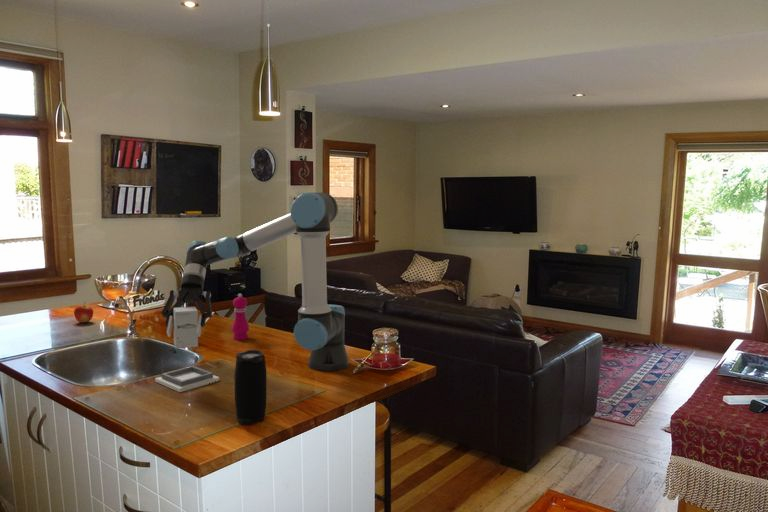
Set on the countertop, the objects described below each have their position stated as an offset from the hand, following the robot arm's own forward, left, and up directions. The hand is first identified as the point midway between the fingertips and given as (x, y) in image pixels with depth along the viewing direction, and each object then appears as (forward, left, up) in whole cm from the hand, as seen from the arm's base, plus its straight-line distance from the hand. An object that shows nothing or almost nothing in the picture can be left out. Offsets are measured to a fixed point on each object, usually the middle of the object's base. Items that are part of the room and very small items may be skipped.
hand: (183, 334), depth 187 cm
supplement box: (+2, -2, -5) cm, 6 cm away
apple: (+111, -15, -17) cm, 113 cm away
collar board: (+2, -2, -17) cm, 17 cm away
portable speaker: (-40, +4, -17) cm, 44 cm away
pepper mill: (+34, -48, -17) cm, 62 cm away
